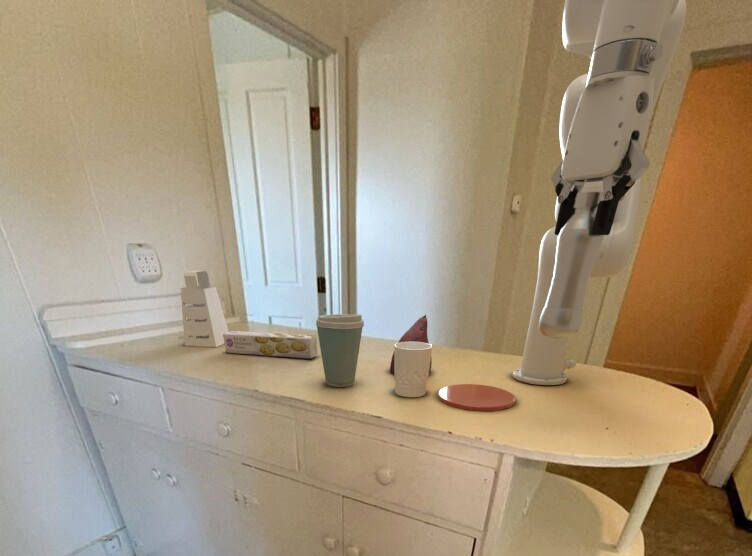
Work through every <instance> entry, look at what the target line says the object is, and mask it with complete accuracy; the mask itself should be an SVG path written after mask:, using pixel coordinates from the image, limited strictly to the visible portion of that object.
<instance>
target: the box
mask: <svg viewBox="0 0 752 556" xmlns="http://www.w3.org/2000/svg"><path fill="white" fill-rule="evenodd" d="M317 336H318V335H310V334H297V333H296V334H295V333H276V332H257V331H256V332H255V331H240V330H239V331H237V330H232V331H229V332H228V333H224V334H223V338H224V348H225V353H227V354H241V355H255V356H267V357H269V356H270V357H271V356H272V357H284V358H298V359H309V360H310V359H312V358H314V357H316V356H318V355H319V352H318V337H317Z"/></svg>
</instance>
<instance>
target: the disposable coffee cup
mask: <svg viewBox="0 0 752 556" xmlns="http://www.w3.org/2000/svg"><path fill="white" fill-rule="evenodd" d="M315 321H316V322H315V326H316V329H317V336H318V342H319V348H320V353H321V361H322V368H323V372H324V373H323V374H324V377H325V378H324V380H325V382H326V385H328V386H329V387H335V388H347V387H351V386H353V385H354V382H355V380H356V373H357V366H358V359H359V353H360V348H361V347H360V346H361V341H362V335H363V334H362V333H363V328H364V327H365V323H364V319H363V318H362V314H358V313H357V314H354V313H344V314H338V313H336V314H323V315H319V316H318V318H316V320H315Z"/></svg>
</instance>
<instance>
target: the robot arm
mask: <svg viewBox="0 0 752 556" xmlns="http://www.w3.org/2000/svg"><path fill="white" fill-rule="evenodd" d="M686 15H687V0H564V4H563V12H562V23H561V25H562V26H561V30H562V31H561V33H562V34H561V37H562V44H563V47H564V50H565V51H566V52H568V53H572V54H575V55H576V54H577V55H582V56H586V57H589V58H590V63H589V69H588V73H584V74H582V75H580V76H578V77H576V78H575V79H573V80H572V82H570V83H569V85H568V86H567V88H566V90H565V92H564V94H563V98H562V103H561V107H560V115H559V125H558V126H559V127H558V128H559V130H558V133H559V135H558V136H559V145H560V152H561V159H562V161H561V162H560V164H559V165H558V166H557V168H556V169H555V170H554V172H553V173H552V175H551V179H550V180H551V182H552V184H553V186H554V191H555V194H556V201H555V208H554V219H555V222H556V224H555V225H554V226H552V227H550V228H549V229H548V230H547V231H546V232H545V234H544V235H543V236H542V239H541V241H540V245H539V254H538V267H537V279H536V280H537V281H536V284H535V285H536V286H535V291H534V298H533V303H532V309H531V314H530V319H529V324H528V327H527V328H528V329H527V334H526V339H525V344H524V348H523V354H522V358H521V362H520V363H521V364H520V367H519V368H516V369H514V370H513V371H512V374H511V375H512V378H513V379H515V380H517V381H518V382H522V383H525V384H531V385H538V386H559V385H562V384H565V383H566V382H567V379H568V376H567V374H566V373H565V371H566V370H569V369H575V367H576V366H577V365H576V364H577V362H576V360H574V359H570V360H567V359H566V356H567V352H568V348H569V345H570V340H571V337H566V338H560V339H554V338H551V337H548V336H545V335H542V334H540V331H539V319H540V316H541V314H542V311H543V309H544V307H545V304H546V301H547V297H548V294H549V291H550V287H551V284H552V278H553V275H554V274H553V272H554V267H555V259H556V248H557V240H558V235H559V233H560V231H561V229H562V228H563V226H564V225H565V223H566V222H567V221H568V220H569V219H570V217H571V216H572V215H573V214H574V211H575V209H574V208H573V206H574V205H575V200H576V195H577V193H583V192H603V193H604V196H603V200H602V201H600V202H599V204H598V208H597V212H596V216H595V220H594V224H593V228H592V234H593V235H604V238H603V241H602V243H601V245H600V249H599V251H598V254H597V256H596V259H595V261H594V264H593V267H592V270H591V273H590V275H589V278H613V277H615V276H618V275H619V274H621V273H622V271H624V269H625V267H626V266H627V263H628V261H629V258H630V255H631V252H632V247H633V241H634V236H635V230H636V225H637V219H638V214H639V208H640V203H641V195H642V182H641V180H640V179H641V178H640V177H642V175H643V174H644V173H645V172H646V171H647V170H648V168H649V166H650V160H649V159H648V157H647V155H646V153H645V151H644V147H645V143H646V139H647V135H648V130H649V125H650V120H651V116H652V115H651V114H652V112H653V110H654V108H655V106H656V104H657V101H658V98H659V96H660V93H661V90H662V87H663V85H664V82H665V80H666V77H667V74H668V72H669V69H670V67H671V65H672V62H673V59H674V56H675V54H676V51H677V48H678V45H679V43H680V39H681V37H682V33H683V29H684V25H685V22H686V17H687V16H686Z"/></svg>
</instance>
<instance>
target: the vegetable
mask: <svg viewBox="0 0 752 556" xmlns="http://www.w3.org/2000/svg"><path fill="white" fill-rule="evenodd" d="M400 342H423V343H428V344H430V343H429V338H428V318H427V314H425V315H423V316H421V317H419V318H418V319H417V320H416V321H415V322H414V323H413V325H411V327H410V328H408V329H407V330H406V332H405V333H404V334H403V335H402V336H401V337H400V338H399V340H398V341H397V343H400ZM432 359H433V358H432V357H431V361H430V369H429V375H430V374H431V373H432ZM394 371H395V369H394V352H392V356H391V360H390V365H389V372H390V373H391V374H393V375H395V374H394Z"/></svg>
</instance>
